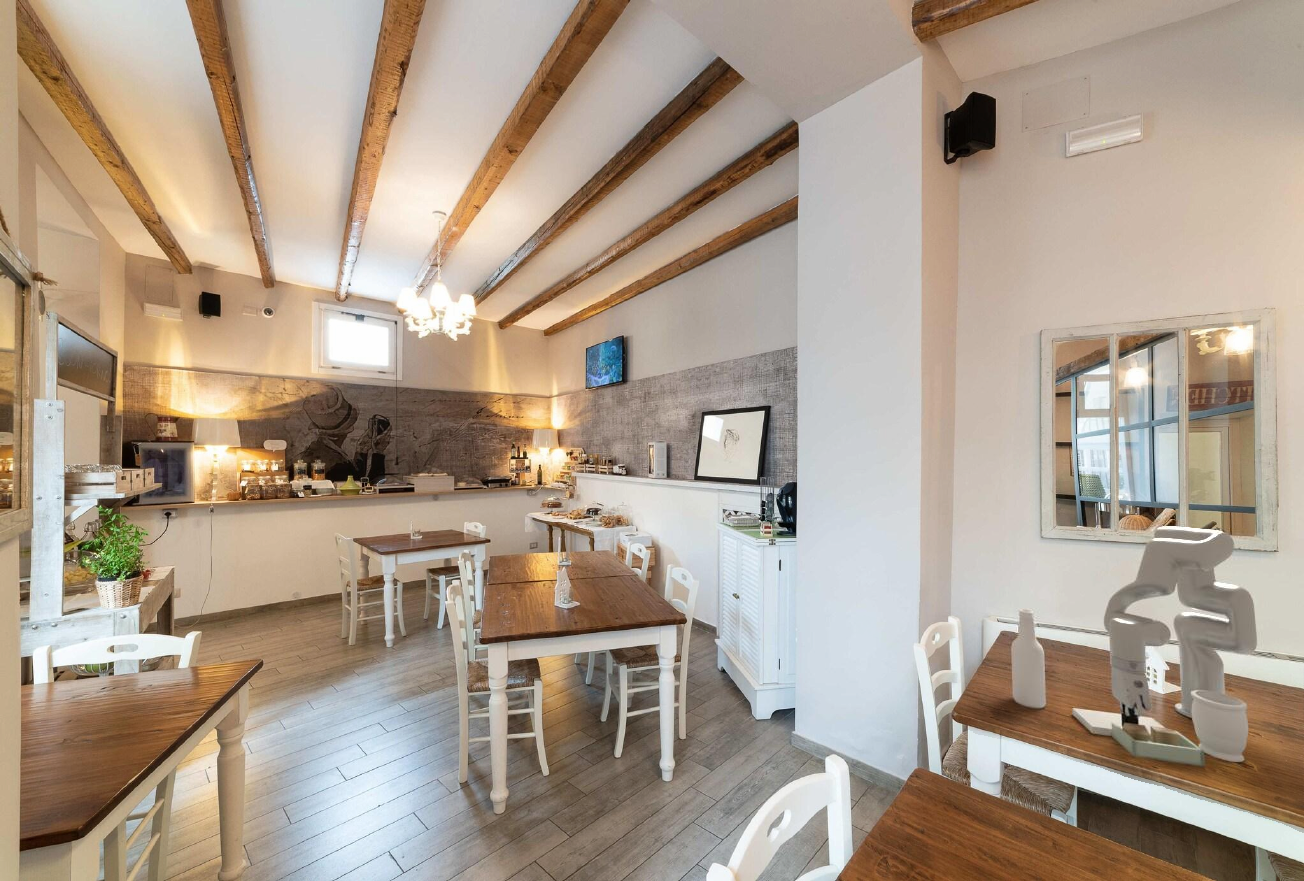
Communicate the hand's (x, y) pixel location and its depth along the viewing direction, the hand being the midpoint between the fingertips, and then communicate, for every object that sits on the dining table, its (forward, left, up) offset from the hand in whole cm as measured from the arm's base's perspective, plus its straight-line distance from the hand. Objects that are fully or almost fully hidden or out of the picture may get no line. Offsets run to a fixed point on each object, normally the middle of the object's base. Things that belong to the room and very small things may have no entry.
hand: (1130, 729), depth 145 cm
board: (-2, -8, -3) cm, 9 cm away
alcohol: (+18, -19, -4) cm, 26 cm away
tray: (-4, +4, -3) cm, 6 cm away
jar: (-20, 0, -4) cm, 20 cm away
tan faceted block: (-7, 0, -1) cm, 7 cm away
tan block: (0, +1, +1) cm, 1 cm away
